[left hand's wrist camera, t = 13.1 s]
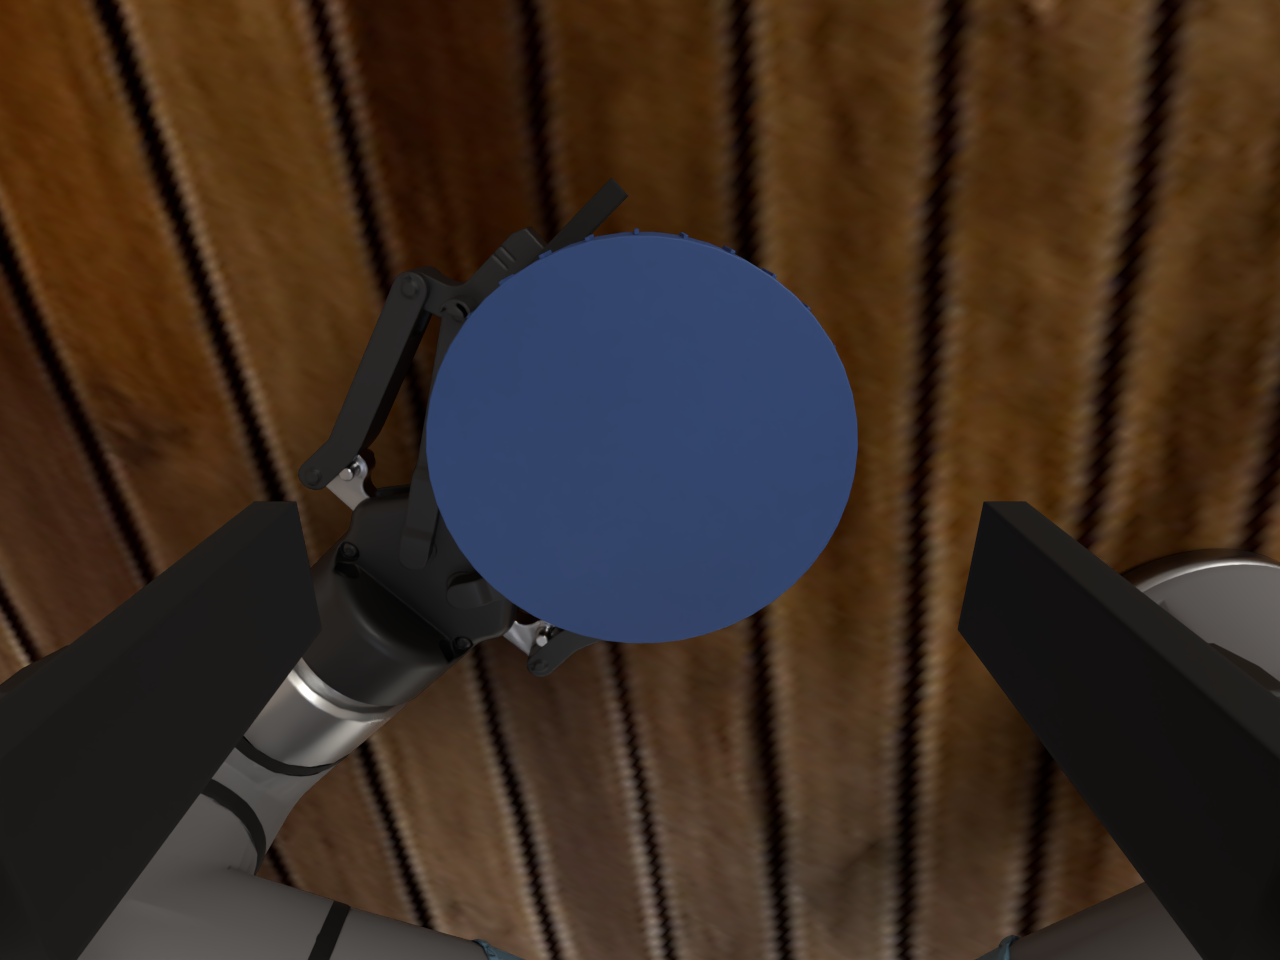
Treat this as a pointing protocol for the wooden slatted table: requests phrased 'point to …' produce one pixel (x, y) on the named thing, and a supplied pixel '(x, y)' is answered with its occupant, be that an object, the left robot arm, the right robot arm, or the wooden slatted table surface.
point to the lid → (641, 438)
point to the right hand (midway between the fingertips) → (721, 302)
